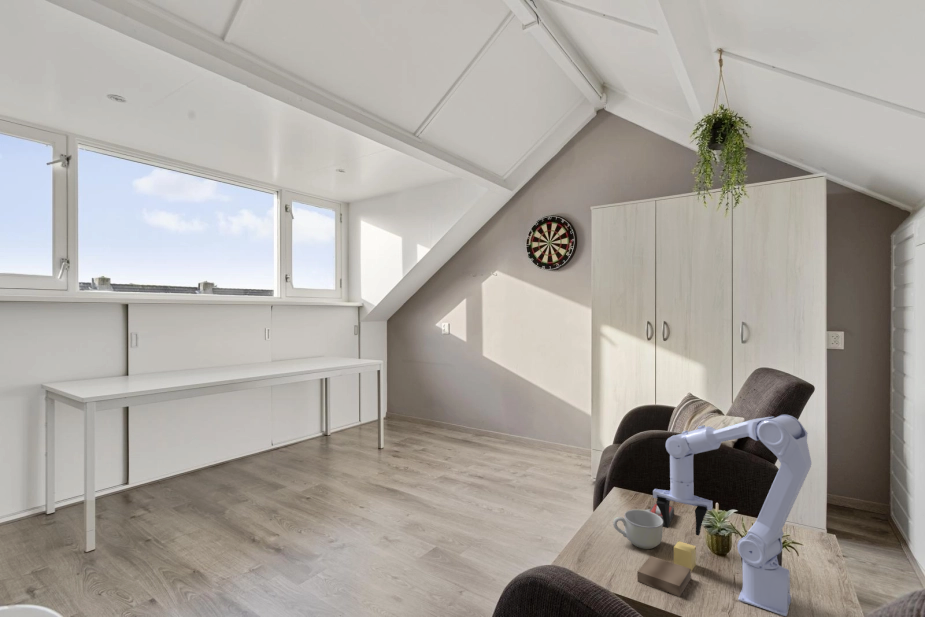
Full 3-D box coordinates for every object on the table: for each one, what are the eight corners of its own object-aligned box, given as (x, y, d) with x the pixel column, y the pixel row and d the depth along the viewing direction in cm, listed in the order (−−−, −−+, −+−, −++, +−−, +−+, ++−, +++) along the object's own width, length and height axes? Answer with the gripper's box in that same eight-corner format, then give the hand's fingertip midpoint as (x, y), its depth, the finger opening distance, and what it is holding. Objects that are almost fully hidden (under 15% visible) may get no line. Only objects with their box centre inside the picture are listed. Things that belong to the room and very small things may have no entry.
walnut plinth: (690, 578, 119) (690, 568, 119) (679, 596, 112) (679, 586, 112) (650, 565, 126) (650, 555, 126) (637, 581, 118) (637, 571, 118)
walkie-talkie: (648, 508, 164) (634, 530, 147) (648, 495, 164) (634, 516, 147) (675, 514, 159) (664, 537, 142) (675, 501, 159) (664, 522, 142)
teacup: (660, 538, 141) (660, 511, 141) (666, 555, 131) (665, 527, 131) (612, 532, 145) (612, 506, 145) (613, 549, 135) (613, 521, 135)
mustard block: (695, 564, 126) (695, 546, 126) (691, 571, 123) (691, 552, 123) (678, 559, 129) (678, 541, 129) (673, 565, 126) (673, 547, 126)
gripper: (714, 480, 125) (715, 531, 125) (657, 470, 134) (658, 517, 134) (709, 488, 120) (710, 541, 119) (650, 476, 128) (651, 526, 128)
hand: (682, 530), depth 126 cm, fingers open, 7 cm apart
